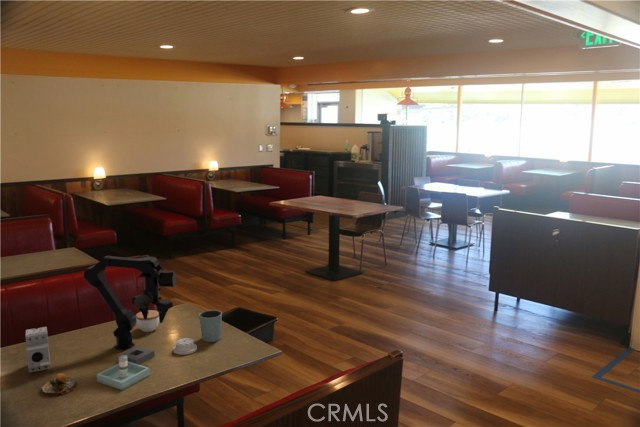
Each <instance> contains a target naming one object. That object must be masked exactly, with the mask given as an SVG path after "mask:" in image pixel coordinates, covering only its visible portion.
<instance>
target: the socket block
mask: <svg viewBox="0 0 640 427" xmlns="http://www.w3.org/2000/svg"><path fill="white" fill-rule="evenodd" d="M122 355H126V356H127V358H128V360H127V361H128V362H131V363H135V364H138V365H141V364H142V363H145V362H147V361H148V360H151V359H152V358H155V356H156V355H155V350H154V349H149V348H145V347H142V346H139V345H137V346H136V345H135V347H134V346H133V347H132V348H129V349H127V350H126V351H124V352H122V353H120V354H118V357H119V356H122Z"/></svg>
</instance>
